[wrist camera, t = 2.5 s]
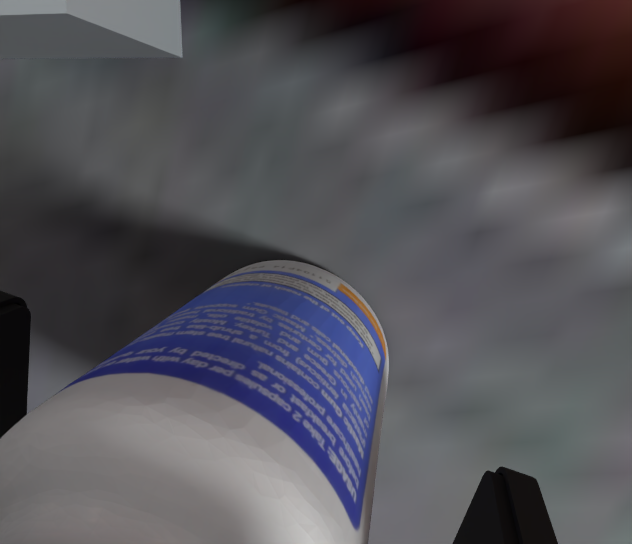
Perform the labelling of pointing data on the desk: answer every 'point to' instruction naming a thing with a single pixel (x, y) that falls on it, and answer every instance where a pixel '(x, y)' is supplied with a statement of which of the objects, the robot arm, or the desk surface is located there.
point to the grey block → (90, 29)
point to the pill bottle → (213, 425)
